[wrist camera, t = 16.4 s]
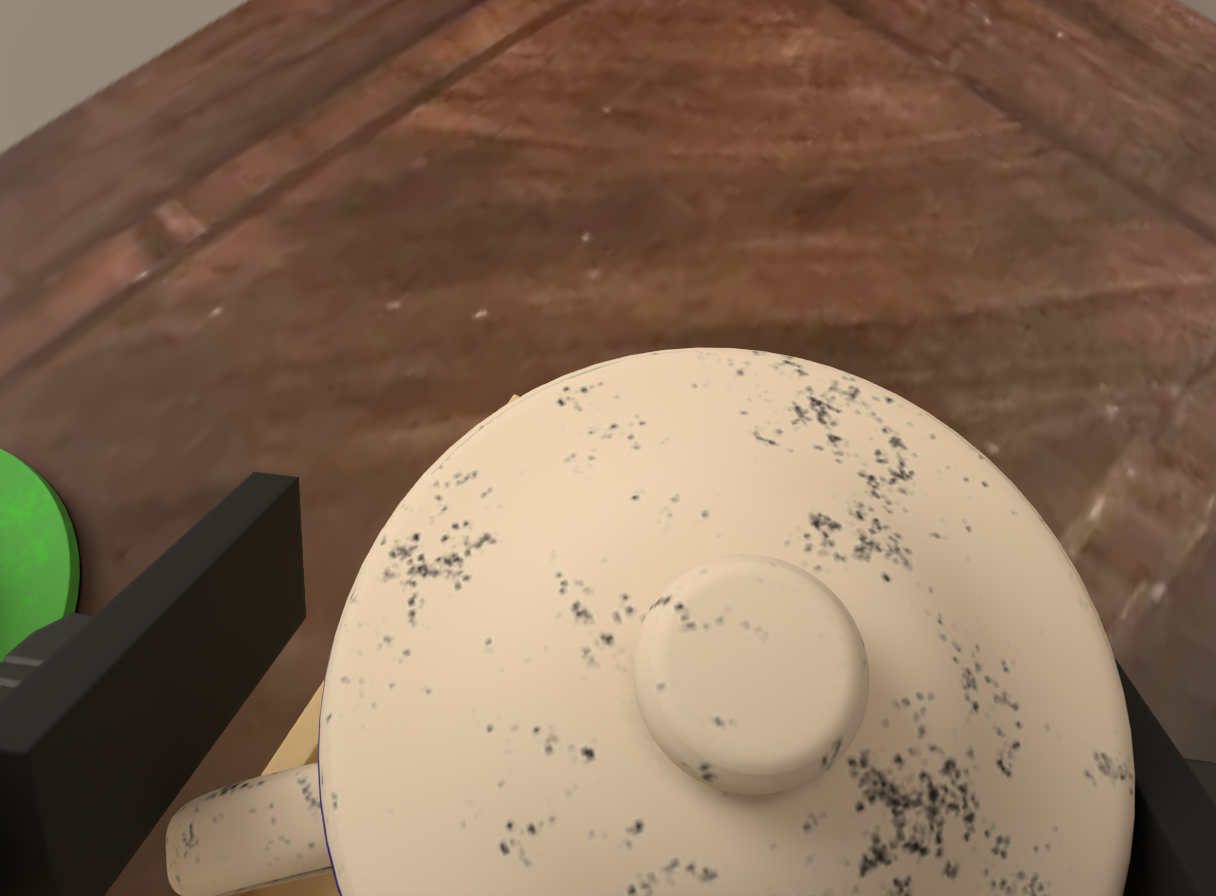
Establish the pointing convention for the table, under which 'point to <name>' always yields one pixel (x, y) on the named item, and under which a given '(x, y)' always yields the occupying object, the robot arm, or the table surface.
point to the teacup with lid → (701, 664)
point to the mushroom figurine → (33, 554)
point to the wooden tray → (294, 752)
